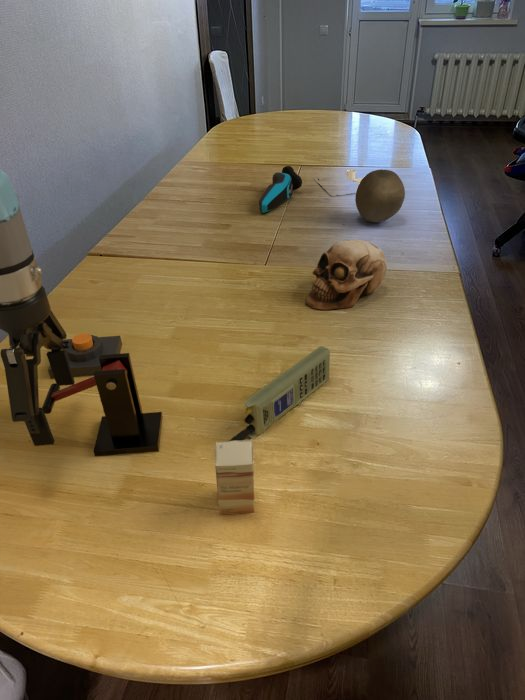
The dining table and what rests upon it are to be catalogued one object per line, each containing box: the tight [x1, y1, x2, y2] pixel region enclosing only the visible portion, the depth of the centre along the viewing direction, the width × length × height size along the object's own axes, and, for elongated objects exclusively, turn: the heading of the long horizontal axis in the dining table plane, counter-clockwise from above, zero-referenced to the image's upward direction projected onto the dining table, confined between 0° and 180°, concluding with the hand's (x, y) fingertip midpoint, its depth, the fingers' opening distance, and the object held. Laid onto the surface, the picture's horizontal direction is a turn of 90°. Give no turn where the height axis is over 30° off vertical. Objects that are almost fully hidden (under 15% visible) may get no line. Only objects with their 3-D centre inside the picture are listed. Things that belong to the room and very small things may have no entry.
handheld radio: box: [228, 346, 331, 441], centre depth 86 cm, size 7×3×25 cm
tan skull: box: [304, 239, 388, 311], centre depth 117 cm, size 16×17×13 cm
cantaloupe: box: [354, 168, 406, 223], centre depth 150 cm, size 14×14×15 cm
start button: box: [71, 333, 93, 351], centre depth 99 cm, size 4×4×2 cm
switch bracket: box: [92, 352, 163, 457], centre depth 80 cm, size 10×8×15 cm
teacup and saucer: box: [345, 168, 362, 183], centre depth 184 cm, size 9×8×4 cm
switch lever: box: [41, 360, 127, 415], centre depth 78 cm, size 13×6×2 cm, turn 95°
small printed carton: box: [214, 439, 255, 515], centre depth 70 cm, size 5×4×10 cm
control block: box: [47, 334, 123, 380], centre depth 101 cm, size 12×10×4 cm
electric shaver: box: [258, 165, 303, 214], centre depth 169 cm, size 9×26×10 cm
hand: (56, 411), depth 80 cm, fingers open, 13 cm apart
